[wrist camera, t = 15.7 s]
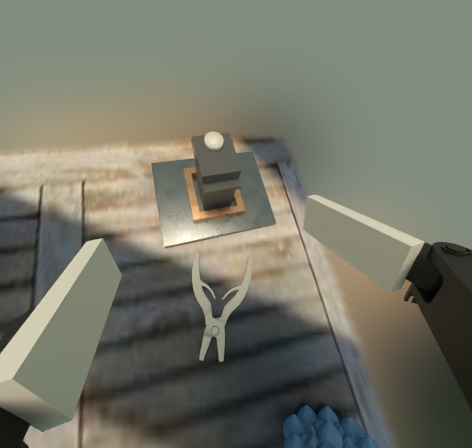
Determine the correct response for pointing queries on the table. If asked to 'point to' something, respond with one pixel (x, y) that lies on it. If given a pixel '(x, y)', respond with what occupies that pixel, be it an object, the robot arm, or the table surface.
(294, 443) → the grapes
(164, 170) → the plate
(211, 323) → the pliers
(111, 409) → the table surface
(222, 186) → the servo
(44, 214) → the table surface
